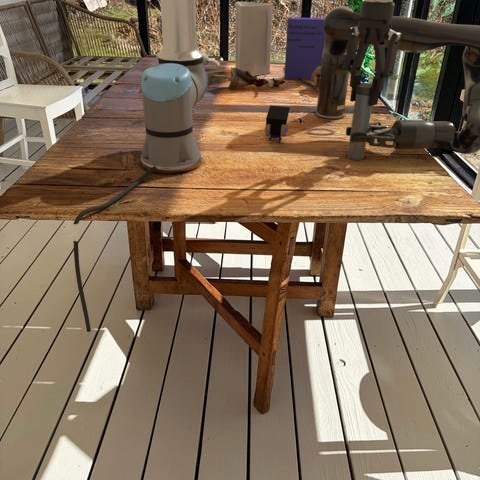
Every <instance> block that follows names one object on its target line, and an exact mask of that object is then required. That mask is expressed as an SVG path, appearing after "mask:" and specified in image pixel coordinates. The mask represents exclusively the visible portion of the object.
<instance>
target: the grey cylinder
mask: <svg viewBox="0 0 480 480" xmlns="http://www.w3.org/2000/svg"><path fill="white" fill-rule="evenodd" d="M369 101H370V94H369V95H367V94H359V93H356V96H355V101H354V104H353V112H352V119H351V126H350V127H351V133H365V134H366V133H368V128H369V123H370V120H371V114H372V107H373V106H369ZM351 133H350V135H351ZM366 146H367V144H366V143H365V142H351V141H350V139H349V141H348V148H347V155H346V157H347V158H348V159H349V160H353V161H362V160H364V159H365V154H366V153H365V152H366Z"/></svg>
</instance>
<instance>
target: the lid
mask: <svg viewBox="0 0 480 480" xmlns="http://www.w3.org/2000/svg"><path fill="white" fill-rule="evenodd" d="M371 87H372V83H370V82H361V83H358V84H356V87H355V92H356V93H359V94H367V95H369V94H371Z"/></svg>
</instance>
